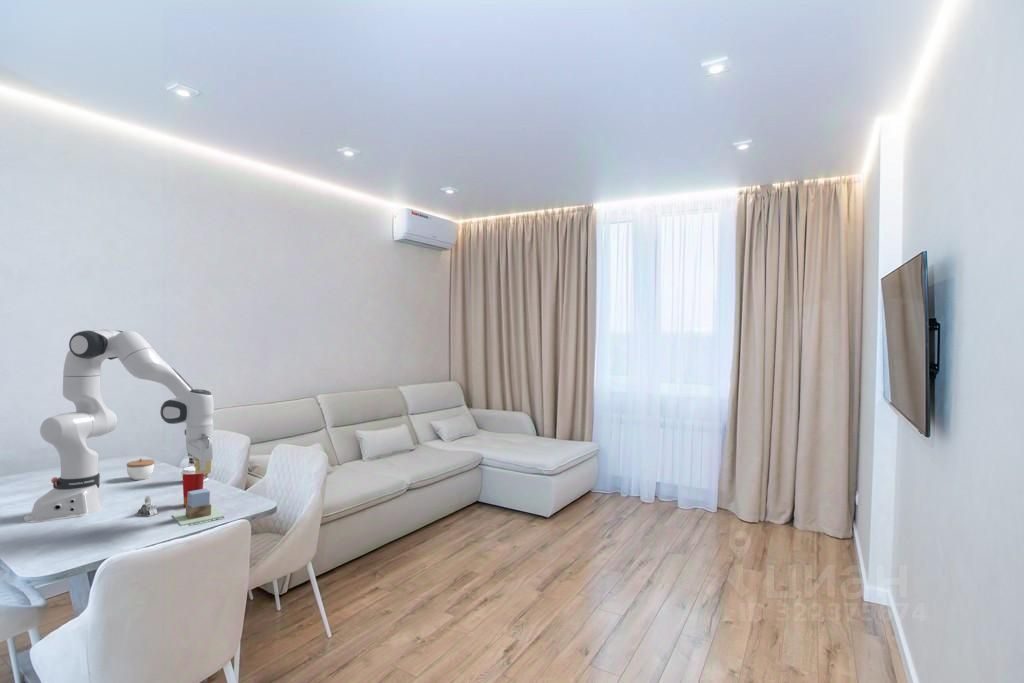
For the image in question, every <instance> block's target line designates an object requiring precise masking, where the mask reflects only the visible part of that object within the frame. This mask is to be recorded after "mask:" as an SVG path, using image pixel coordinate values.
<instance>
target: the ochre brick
mask: <svg viewBox="0 0 1024 683" xmlns="http://www.w3.org/2000/svg"><path fill="white" fill-rule="evenodd" d="M199 464H200V462H199V459H196V467H195V474H204V473H208V474H211V472H212V460H211V461H207V462H206V465H205V470H204V471H200V470H199Z"/></svg>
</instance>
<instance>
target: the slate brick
mask: <svg viewBox="0 0 1024 683" xmlns="http://www.w3.org/2000/svg"><path fill="white" fill-rule="evenodd" d="M210 494H211V491H210V490H209V489H207V488H203V489H200V490H195V491H189V492H188V495H187V505H188V506H189V507H191V508H195V507H199V506H204V505H209V504H211V502H210V499H211V498H210V497H211V496H210Z"/></svg>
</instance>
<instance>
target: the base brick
mask: <svg viewBox="0 0 1024 683" xmlns="http://www.w3.org/2000/svg"><path fill="white" fill-rule="evenodd" d="M211 507H212V504H211V503H210V504H209V505H204V506H199V507H195V508H191V507H189V506H188V505H186V507H185V512H186V516H187V517H188V518H189V519H195V518H200V517H204V516H209V515H211Z"/></svg>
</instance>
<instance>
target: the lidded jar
mask: <svg viewBox="0 0 1024 683" xmlns="http://www.w3.org/2000/svg"><path fill="white" fill-rule="evenodd" d="M154 470H155V460H154V459H143V458H139V460H137V459H136V460H133V461H130V462H129V461H128V462H127V463H126V471H127V475H128V477H129V478H130V479H132V480H133V481H142V480H146V479H148V478H149V477H150V476H151V475H152V474H153V472H154Z"/></svg>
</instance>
